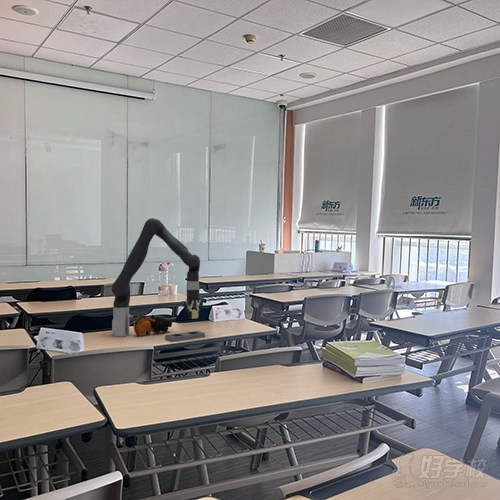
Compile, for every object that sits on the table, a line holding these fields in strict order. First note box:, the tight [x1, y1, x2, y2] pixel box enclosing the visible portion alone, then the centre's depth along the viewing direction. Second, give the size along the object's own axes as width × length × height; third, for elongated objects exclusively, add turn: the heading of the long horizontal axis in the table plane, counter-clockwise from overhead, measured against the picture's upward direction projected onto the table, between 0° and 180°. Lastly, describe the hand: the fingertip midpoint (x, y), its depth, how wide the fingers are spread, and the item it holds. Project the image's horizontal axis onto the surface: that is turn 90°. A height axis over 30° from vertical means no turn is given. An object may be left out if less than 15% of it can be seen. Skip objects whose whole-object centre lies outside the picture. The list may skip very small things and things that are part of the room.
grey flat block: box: [164, 330, 206, 343], centre depth 289 cm, size 22×8×2 cm, turn 128°
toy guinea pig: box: [133, 314, 173, 338], centre depth 301 cm, size 8×23×15 cm, turn 127°
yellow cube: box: [190, 309, 199, 320], centre depth 292 cm, size 4×4×4 cm
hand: (193, 317), depth 292 cm, fingers closed on yellow cube, 4 cm apart
